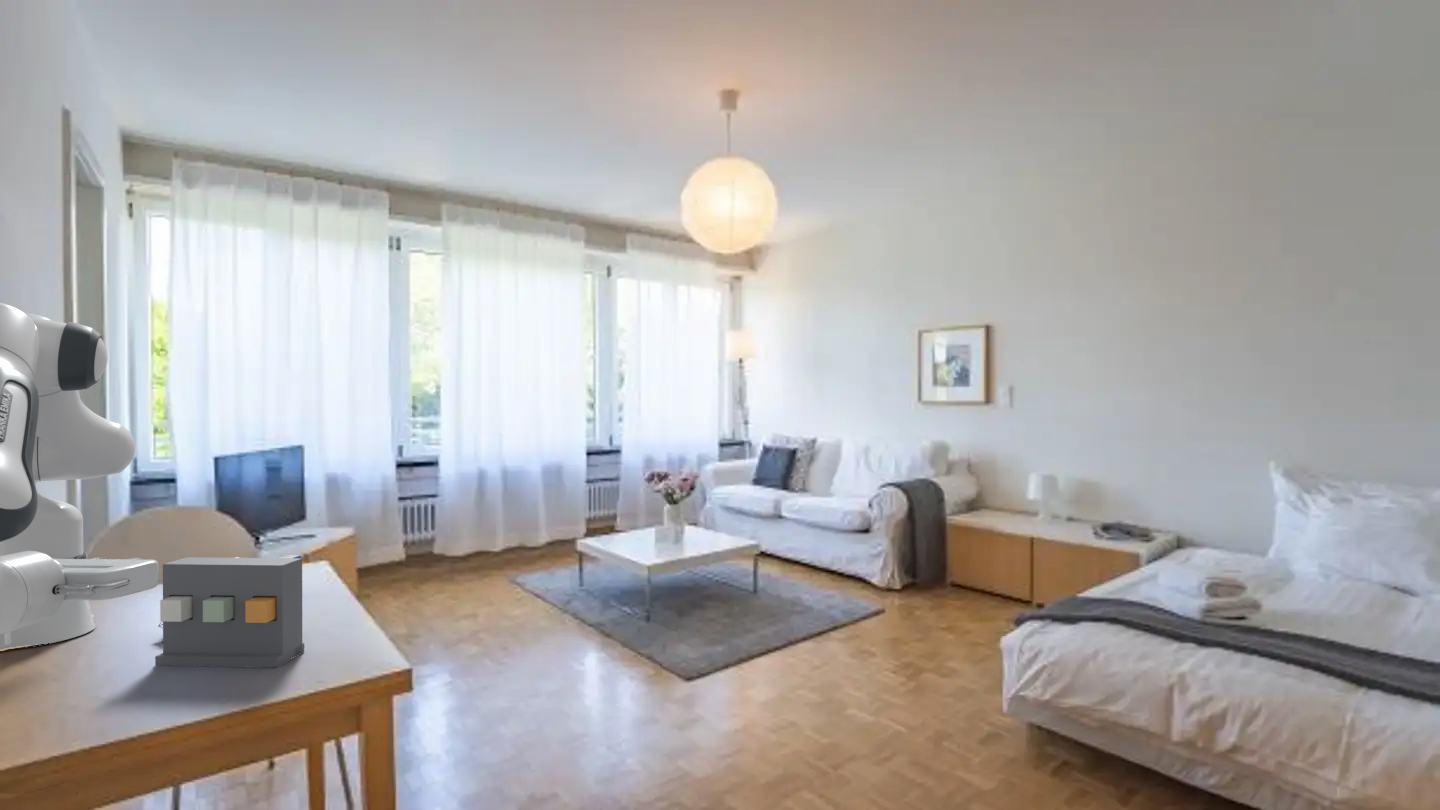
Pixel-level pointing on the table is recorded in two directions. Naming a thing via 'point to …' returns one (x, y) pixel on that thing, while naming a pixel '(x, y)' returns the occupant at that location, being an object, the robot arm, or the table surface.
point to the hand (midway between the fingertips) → (121, 563)
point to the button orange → (261, 609)
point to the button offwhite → (176, 608)
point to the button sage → (219, 609)
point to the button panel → (235, 637)
